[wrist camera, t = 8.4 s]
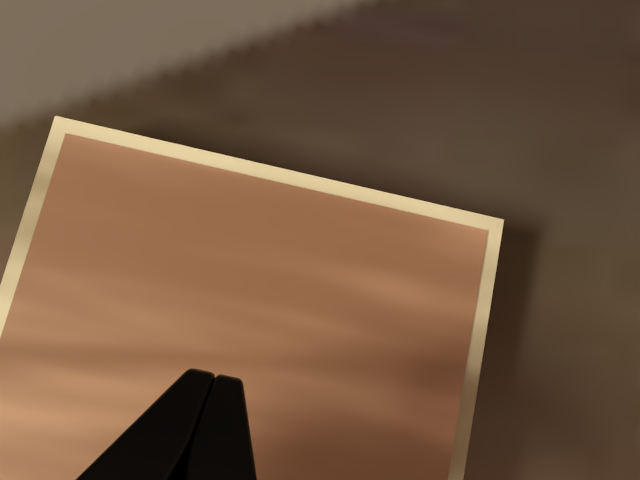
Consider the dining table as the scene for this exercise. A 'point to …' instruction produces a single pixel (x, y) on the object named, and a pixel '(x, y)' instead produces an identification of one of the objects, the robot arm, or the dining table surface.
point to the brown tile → (239, 310)
